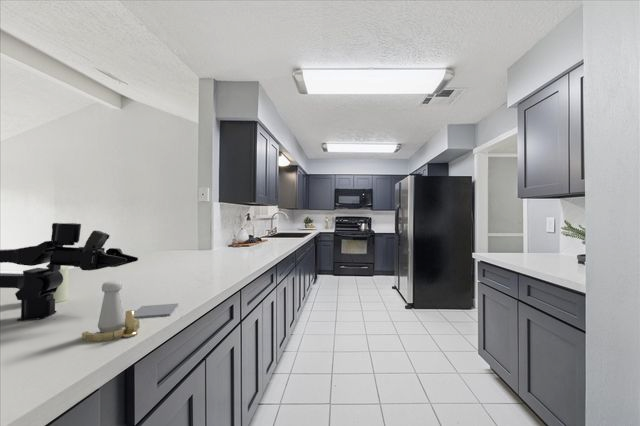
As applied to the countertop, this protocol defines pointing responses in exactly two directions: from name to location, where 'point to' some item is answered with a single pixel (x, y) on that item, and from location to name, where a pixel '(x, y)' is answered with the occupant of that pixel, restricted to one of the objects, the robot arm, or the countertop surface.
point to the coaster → (155, 310)
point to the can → (62, 286)
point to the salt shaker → (111, 308)
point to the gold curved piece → (127, 332)
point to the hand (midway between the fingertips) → (132, 259)
